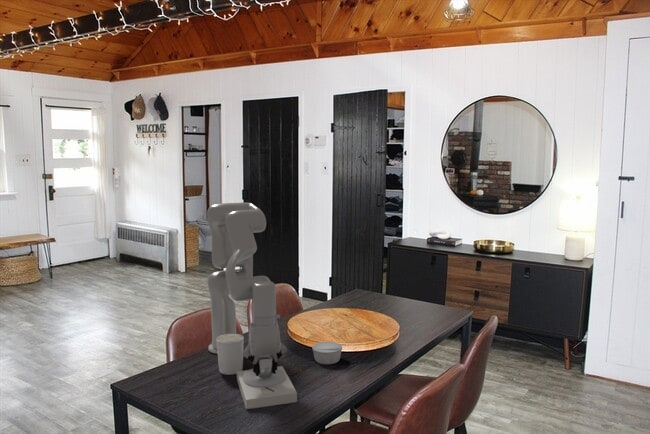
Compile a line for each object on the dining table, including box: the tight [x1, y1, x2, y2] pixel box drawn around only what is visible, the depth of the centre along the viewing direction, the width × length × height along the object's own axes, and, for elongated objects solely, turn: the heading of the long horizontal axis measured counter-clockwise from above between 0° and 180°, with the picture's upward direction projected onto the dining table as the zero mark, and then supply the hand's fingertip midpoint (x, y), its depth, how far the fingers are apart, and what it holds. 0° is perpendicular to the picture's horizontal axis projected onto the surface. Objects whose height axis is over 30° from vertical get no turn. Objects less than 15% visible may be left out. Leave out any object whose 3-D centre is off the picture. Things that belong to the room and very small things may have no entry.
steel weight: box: [257, 354, 273, 378], centre depth 172 cm, size 5×5×6 cm
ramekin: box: [312, 341, 343, 365], centre depth 198 cm, size 11×11×5 cm
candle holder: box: [216, 333, 245, 376], centre depth 188 cm, size 10×10×12 cm
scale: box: [236, 365, 298, 410], centre depth 172 cm, size 22×16×4 cm
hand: (265, 372), depth 172 cm, fingers closed on steel weight, 4 cm apart
